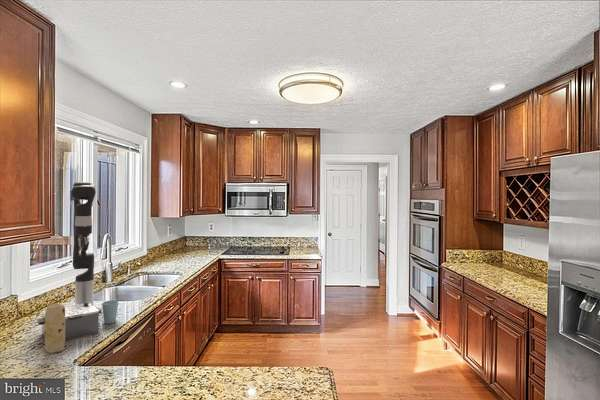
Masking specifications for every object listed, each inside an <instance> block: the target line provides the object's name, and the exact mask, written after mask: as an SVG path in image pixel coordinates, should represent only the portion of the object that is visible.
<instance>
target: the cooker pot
mask: <svg viewBox="0 0 600 400" xmlns="http://www.w3.org/2000/svg"><path fill="white" fill-rule="evenodd" d="M97 309H98V310H99V313H95V314H90V315H85V316H82V318H79V319H74V320H69V319H65V342H67V341H72V340H76V339H81V338H84V337H90V336H93V335H97V334H99V323H100V321H99V317H100V316H99V315H100V314H103V310H101V309H100V308H99V307H97ZM41 314H42V313H41ZM36 322H37V324H38V325H39V326H42V327H41V328H42V331H41V332H42V335H44V336H43V338H45V317H44V315H43V314H42V318H38V319H36Z"/></svg>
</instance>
